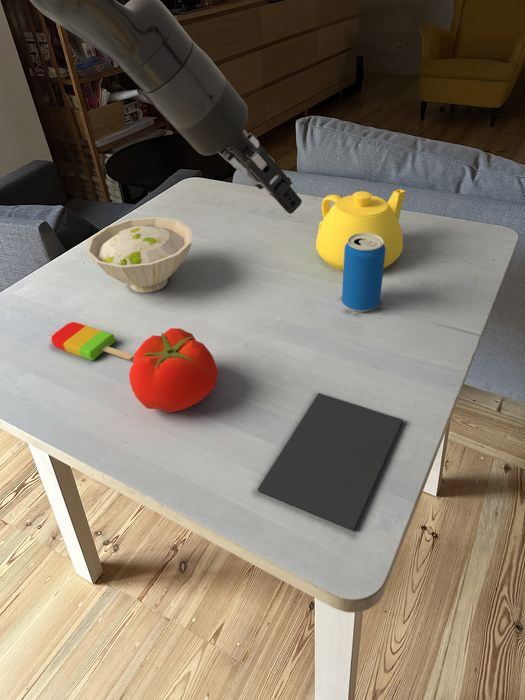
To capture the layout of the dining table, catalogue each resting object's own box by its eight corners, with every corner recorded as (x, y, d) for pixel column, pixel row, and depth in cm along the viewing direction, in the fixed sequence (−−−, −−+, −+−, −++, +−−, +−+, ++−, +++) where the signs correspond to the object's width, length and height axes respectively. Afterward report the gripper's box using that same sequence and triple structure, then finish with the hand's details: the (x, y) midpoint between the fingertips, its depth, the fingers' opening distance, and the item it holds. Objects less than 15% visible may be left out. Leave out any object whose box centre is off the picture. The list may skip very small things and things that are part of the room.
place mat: (318, 395, 75) (318, 392, 75) (402, 422, 71) (402, 419, 70) (257, 491, 63) (257, 488, 63) (354, 531, 59) (354, 528, 58)
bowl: (105, 322, 92) (91, 271, 86) (91, 270, 106) (77, 224, 100) (212, 295, 97) (206, 245, 91) (185, 249, 111) (177, 203, 105)
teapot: (360, 287, 97) (365, 222, 89) (291, 251, 108) (290, 190, 100) (430, 250, 106) (440, 188, 98) (359, 220, 118) (363, 162, 110)
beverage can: (350, 290, 96) (354, 228, 89) (384, 298, 93) (392, 236, 86) (335, 308, 92) (338, 245, 84) (371, 318, 89) (377, 254, 82)
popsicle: (74, 328, 91) (71, 319, 90) (143, 351, 85) (141, 342, 84) (50, 346, 87) (46, 337, 86) (121, 372, 81) (118, 363, 80)
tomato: (204, 431, 71) (196, 384, 66) (120, 416, 74) (105, 369, 69) (233, 370, 81) (228, 324, 75) (158, 359, 84) (148, 314, 78)
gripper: (248, 86, 52) (329, 193, 63) (197, 59, 62) (275, 155, 73) (195, 145, 53) (284, 239, 64) (153, 109, 63) (237, 196, 74)
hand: (279, 195), depth 69 cm, fingers open, 8 cm apart
